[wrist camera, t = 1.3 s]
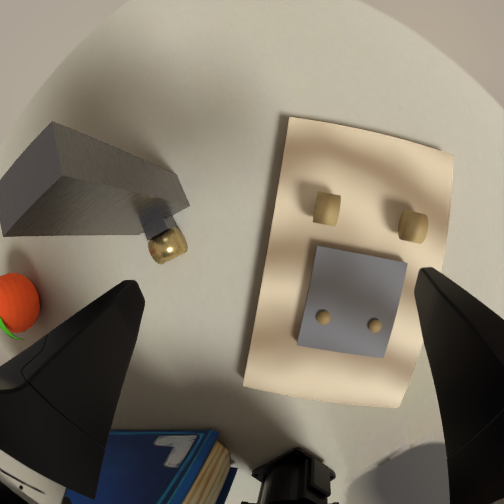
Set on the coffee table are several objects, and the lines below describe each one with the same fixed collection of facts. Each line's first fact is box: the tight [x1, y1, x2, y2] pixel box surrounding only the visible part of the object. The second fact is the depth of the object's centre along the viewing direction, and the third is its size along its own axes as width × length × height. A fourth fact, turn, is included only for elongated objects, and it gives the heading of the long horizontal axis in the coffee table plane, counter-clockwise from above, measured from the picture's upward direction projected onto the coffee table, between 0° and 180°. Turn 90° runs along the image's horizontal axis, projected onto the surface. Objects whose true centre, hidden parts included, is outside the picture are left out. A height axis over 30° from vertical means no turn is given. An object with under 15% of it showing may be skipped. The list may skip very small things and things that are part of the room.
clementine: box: [0, 273, 40, 340], centre depth 25 cm, size 8×7×7 cm
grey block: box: [0, 121, 190, 264], centre depth 17 cm, size 6×6×14 cm
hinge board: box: [243, 117, 453, 408], centre depth 20 cm, size 22×14×3 cm, turn 170°
